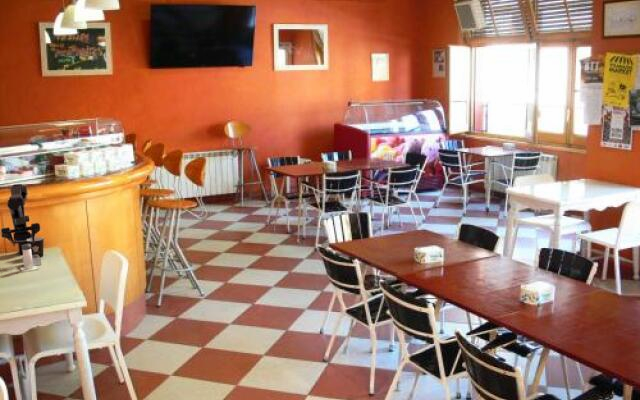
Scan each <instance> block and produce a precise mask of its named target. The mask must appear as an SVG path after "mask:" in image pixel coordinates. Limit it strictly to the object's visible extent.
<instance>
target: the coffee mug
mask: <svg viewBox="0 0 640 400" xmlns="http://www.w3.org/2000/svg"><path fill="white" fill-rule="evenodd" d="M44 241H45V240H44V237H43V236H41V237H40V236H38V237H34V243H33V242H32V238H30V239H27V243H24V242H23V243H21V244H31V252H32V255H37V254H38V255H39V256H40V257H41V258H43V257H44ZM21 244H20V248H21ZM21 249H22V248H21ZM22 250H23V249H22Z"/></svg>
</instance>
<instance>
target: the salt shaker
mask: <svg viewBox="0 0 640 400" xmlns="http://www.w3.org/2000/svg"><path fill="white" fill-rule="evenodd" d="M22 249H23V254H22V257H24V265H23V266H24V267H25V269H26V270H28V269H33V261H32V252H31V244H24V245H22Z"/></svg>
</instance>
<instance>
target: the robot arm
mask: <svg viewBox="0 0 640 400" xmlns="http://www.w3.org/2000/svg"><path fill="white" fill-rule="evenodd" d="M28 193H29V192H28V187H27V186H24V185H23V184H22V183H17V184H13V185H12V187H10V196H9V198H8V200H7V208H8V209H9V213H10V216H11V221H12V225H13V228H12V229H10V227H2V228H1V229H0V235H1V238H4V239H7V240H8V241H9V242H10V243H11V245H12V246H13V247H15V246H16V244H17V249H18V251H17V252H16V253H17V254H18V255H23V250H22V249H21V248H22V245H24V244H21V243H23V242H24V243H27V239H30V238H32V242H33V243H34V238H35V236H36V234H38V233H39V232H40V231H41V225H40V223H39V222H35V223H31V224H30V226H27V223H29V222H30V216H29V215H26V214H25V213H26V211H25V204H26V201H27V199H28V198H27V197H28V195H29V194H28ZM12 234H13V235H12ZM20 244H21V248H20Z"/></svg>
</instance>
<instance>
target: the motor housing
mask: <svg viewBox="0 0 640 400" xmlns="http://www.w3.org/2000/svg"><path fill="white" fill-rule="evenodd" d="M21 259H22V263H23V266H24V257H23V256H22V258H21ZM32 261H33V266H36V267H38V266H42V257H40V256H39V255H38V254H37V255H32Z"/></svg>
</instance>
